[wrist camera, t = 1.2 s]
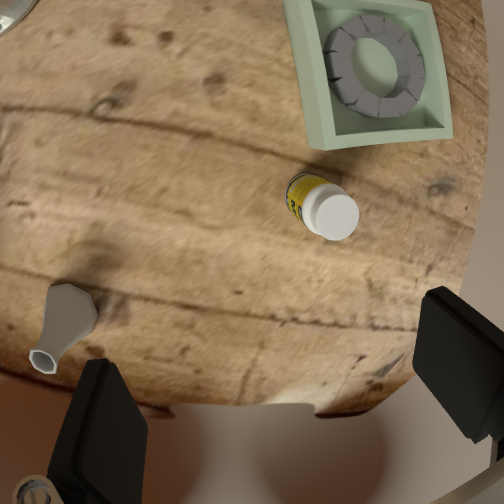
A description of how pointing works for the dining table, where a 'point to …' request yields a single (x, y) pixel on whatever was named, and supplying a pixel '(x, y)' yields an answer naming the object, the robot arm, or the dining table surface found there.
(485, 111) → the dining table surface
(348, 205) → the supplement bottle
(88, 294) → the flask
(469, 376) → the robot arm
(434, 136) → the socket box
